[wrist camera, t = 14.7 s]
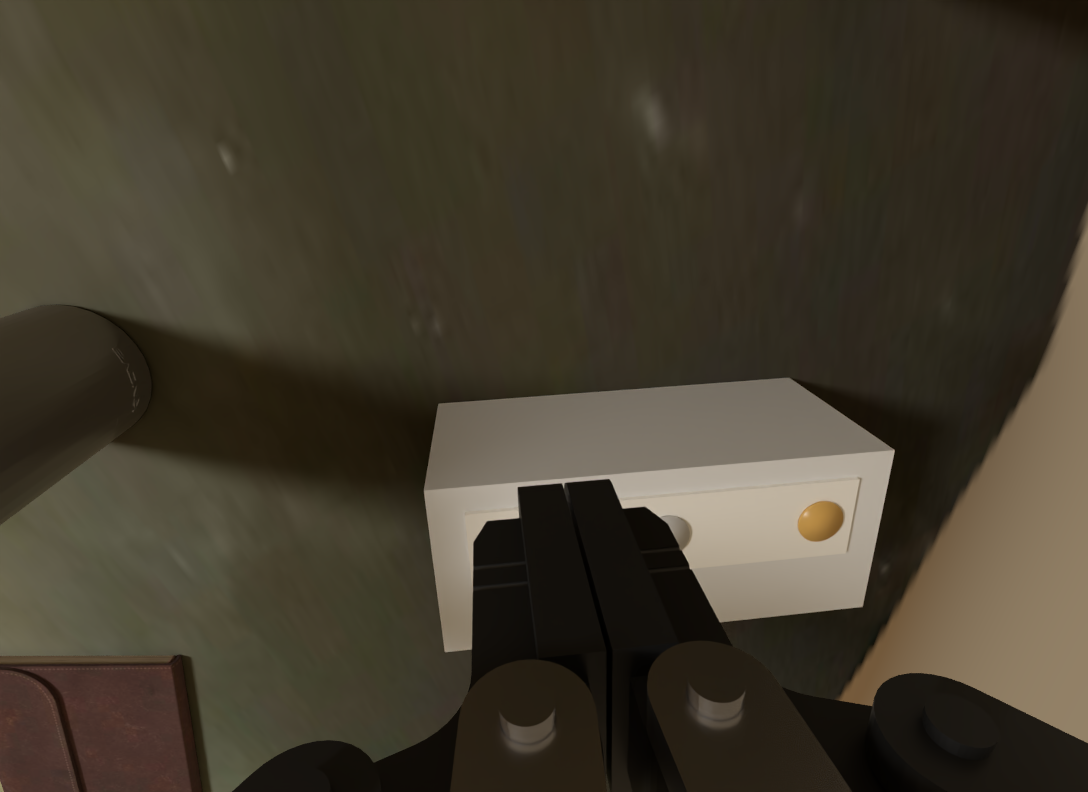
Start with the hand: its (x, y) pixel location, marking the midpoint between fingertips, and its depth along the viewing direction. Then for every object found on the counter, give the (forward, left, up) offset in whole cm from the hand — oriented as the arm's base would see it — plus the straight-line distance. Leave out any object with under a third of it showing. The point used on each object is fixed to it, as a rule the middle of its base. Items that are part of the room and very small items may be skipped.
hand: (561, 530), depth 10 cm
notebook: (-36, -39, -32) cm, 62 cm away
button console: (+8, -16, -31) cm, 36 cm away
